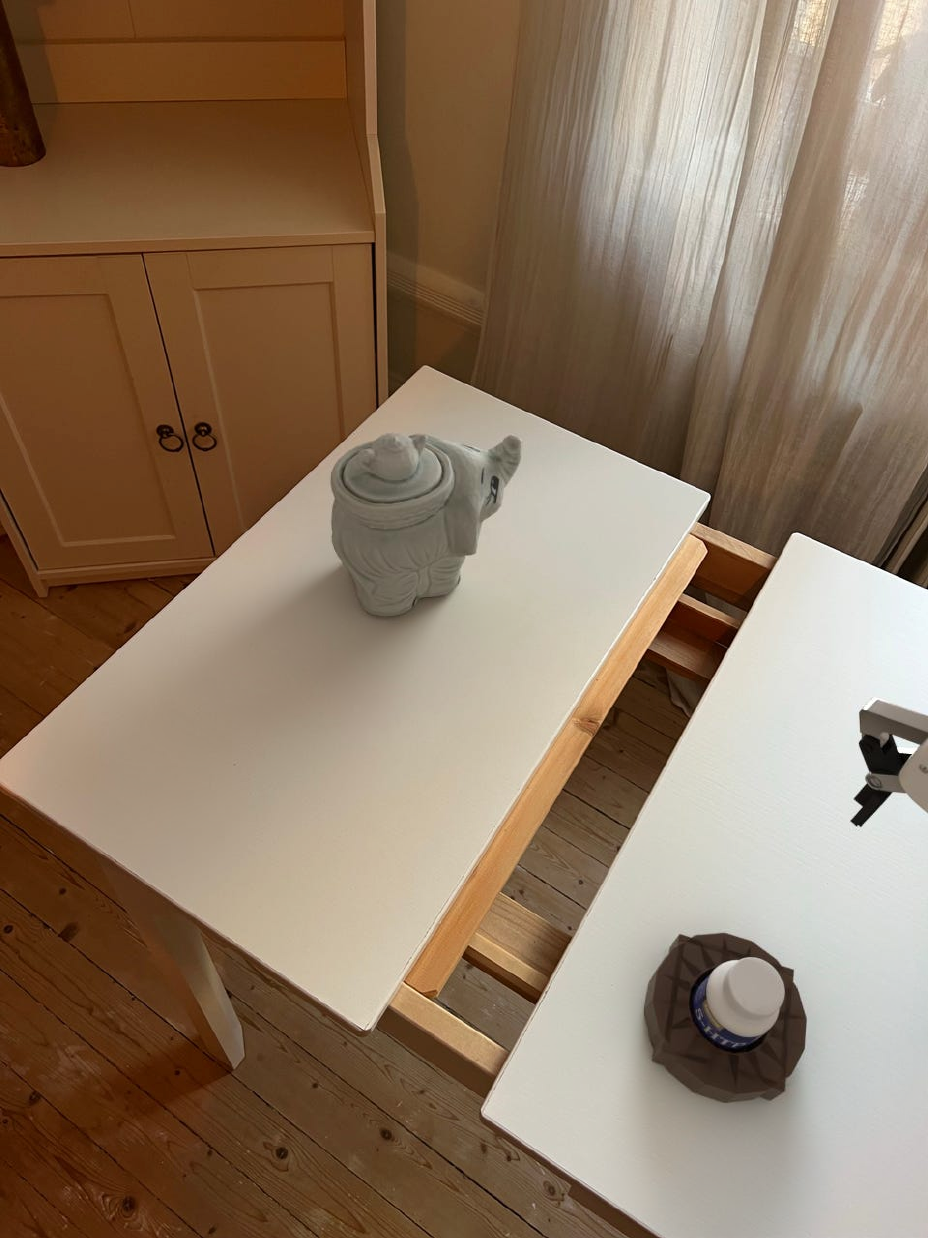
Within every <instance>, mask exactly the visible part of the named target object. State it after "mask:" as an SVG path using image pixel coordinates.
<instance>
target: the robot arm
mask: <svg viewBox="0 0 928 1238" xmlns="http://www.w3.org/2000/svg"><path fill="white" fill-rule="evenodd" d="M858 719H859V721H858V722H859V733H861V739H860V740H859V741H858V747H859V749H860V752H861V754H862V755H861V756H862V757H863V759H864V762H865V764H866V767H867V770H868V773H866V775H865V777H864V779H865V782H866V784H865V785H864V786H862V788H861V789H860V790H859V791H858V793H857V794H856V795H855V796H854V797H853V801H855V802H856V803H857V804H859V805H860V807H861V808H860V809H859V810H858V811H857V813H855V815H854V816H853V817H852V818H851V819H850V823H852V825H853V826H855V827H858V826H859V827H860V828H861V827H863V826H864V825H865V824H866V822H867V821H869V819H870V818H871V817H872V816H873V815H874V814H875V813H877V811H878V810H879V809H880V807H882V806H883V804H884V803H885V802H886V801H887V800H888V799H889V798H890V797H891V796H892V794H893V793H897V794H898V793H899V794H906V795H907V796H908V797H909V798H910V799H911V800H912V801H913V802H914V803H915V804H916V805H917V806H918V807H920V808H921V809H922V810H923V811H924V812H926V813H927V814H928V715H927V714H924V713H921V712H919V711H916V710H913V709H909V708H907V707H904V706H901V705H898V704H896V703H892V702H889V701H886V700H883V699H880V698H876V697H872V698H871V699H870V700H869V701H868V702H867V703H866V704H865V705H864V706H863V707H862V708H861V709H860V710H859V712H858ZM894 737H896V738H899V739H902V740H905V741H908V742H911V743H914V744H916V745H918V747H917V748H909V747H898V745H897V743H896V740H895V738H894Z"/></svg>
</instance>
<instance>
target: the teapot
mask: <svg viewBox="0 0 928 1238" xmlns="http://www.w3.org/2000/svg"><path fill="white" fill-rule="evenodd" d="M522 457H523V442H522V439H521V438H520V437H519V436H518V435H515V434H509V435H507V436H505V437H504V438H503V439H502V441H500V442H499V443H497V444H496V445H494V446H493V447H491V448H489V449H481V448H479V447H476V446H473V445H470V444H468V443H463V442H453V441H449V440H446V439H444V438H440V437H438V436H435V435H431V434H426V433H414V434H411V435H409V436H407V435H404V434H402V433H398V432H387V433H384V434H382V435H380V436H379V437H377V438H376V439H375V440H371V441H367V442H364V443H362V444H359V445H356V446H354V447H352V448H351V449H348V451H346V453H344V454H343V455H342V456H341V457H340V458H339V459H337V461H336V462H335V464H334V465H333V467H332V470H331V472H330V482H329V483H330V488H331V492H332V495H333V498H334V500H333V503H332V507H331V519H330V526H331V544H332V547H333V549H334V551H335V554H336V556H337V557H338V559H339V560H340V561H341V562H342V564H343V565H344V566H345V568H346V569H347V570H348V572H349V576H350V578H351V580H352V581H353V584H354V585H355V587H356V592H357V597H358V600H359V603H360V605H361V606H362V608H363V609H364V610H365V611H366V612H367V613H369V614H371V615H373V616H379V617H394V616H395V617H396V616H399V615H402V614H404V613H406V612H408V611H410V610H411V609H412V608H414V607H415V606H416V604H417V602H418V601H419V600H420V599H421V598H427V597H440V596H443V595H447V594H449V593H451V592H453V591H454V590H455V589H456V588H457V587H458V586H459V585H460V583H461V581H462V574H461V573H462V572H461V569H462V567H463V564H464V562H465V560H466V556H473V555H476V554H477V550H478V544H479V539H480V534H481V531H482V530H481V529H482V525H483V522H484V521H486V520H487V519H489V518H490V517H492V516H493V515H494V514H495V513H497V512H498V510H500V508H501V506H502V504H503V500H504V493H505V489H506V487H507V486H508V484H509V482H510V481H511V480H512V478H513V477H514V475H515V474H516V472H517V470H518V468H519V466H520V464H521V460H522Z"/></svg>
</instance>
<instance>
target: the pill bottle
mask: <svg viewBox="0 0 928 1238" xmlns="http://www.w3.org/2000/svg"><path fill="white" fill-rule="evenodd" d="M784 994H785V990H784V984H783V981H782V979H781V977H780V975H779V974H778V972H777V971H776V970H775V968H774V967H772V966H771V965H770V964H769V963H767V962H766V961H764V960H761V959H758V958H753V957H748V958H743V959H741V960H732V961H728V962H725V963H723V964H721V965H720V966H718V967H717V968H716V969H715V970H714V971H713V972H712V973H711V974H710V975H709V976H708V977H707V978H706V979H705V980H704V981H701V983H700V984H699V985H698V986H697V987H696V988H695V989H694V991H692V992H691V994H690V1001H689V1007H690V1011H691V1015H692V1020H693V1022H694V1024H695V1025H696V1027H697V1029H698V1030H699V1032H700V1033H701V1035H702V1036H703V1037H704V1038H705V1039H707V1040H708V1041H709V1042H710V1043H712V1044H713V1045H714V1046H715V1047H717V1048H719V1049H722V1050H725V1051H728V1052H731V1053H739V1052H742V1051H743V1050H745V1049H746V1048H747V1047H748V1046H750V1045H751V1044H753V1043H755V1042H756V1039H758V1038H759V1037H760V1036H762V1035H763V1034H764V1033H766V1032H767V1031H768V1030H769V1029H770V1028H771V1027H772V1026H773V1025H774V1023H775V1022H776V1020H777V1018H778V1015H779V1010H780V1007H781V1005H782V1003H783V1000H784Z"/></svg>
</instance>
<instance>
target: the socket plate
mask: <svg viewBox="0 0 928 1238" xmlns="http://www.w3.org/2000/svg"><path fill="white" fill-rule="evenodd" d="M668 949H669V950H668V953H667V954H666V956H665V957H664V958H663V960H662V961H661V963H660V964H659V966H658V967H657V969H656V970H655V971H654V973H653V975H652V976H651V977H650V979H649V981H648V983H647V988H646V994H645V1001H644V1006H643V1015H644V1020H645V1024H646V1029H647V1034H648V1038H649V1042H650V1045H651V1046H652V1048H653V1050H652V1056H651V1062H652V1063H656V1064H659V1065H662V1066H664V1068H665V1070H666V1071H667V1072H668V1073H669V1074H670V1075H671V1076H673V1078H674V1079H676V1080H677V1081H679V1082H680V1083H681V1084H682V1085H683V1086H685V1087H686V1089H689V1091H691V1092H692V1093H694V1094H696V1095H699V1096H703V1097H706V1098H708V1099H712V1100H715V1101H718V1102H721V1103H725V1104H726V1103H727V1104H728V1103H737V1102H746V1101H753V1100H756V1099H757V1098H758V1097H759V1098H762V1099H765V1100H769V1101H772V1100H774V1099H776V1098H777V1097H779V1096H781V1095H782V1094H784V1093H785V1092H786V1083H787V1079H788V1078H789V1077H790V1076H792V1074H793V1072H794V1070H795V1069H796V1067H797V1065H798V1064H799V1061H800V1060H801V1058H802V1057H803V1054H804V1052H805V1049H806V1040H807V1039H806V1036H807V1024H808V1022H807V1021H808V1019H807V1017H808V1016H807V1013H806V1011H805V1007H804V1004H803V1001H802V998H801V994H800V991H799V988H798V986H797V985H796V984H795V982H794V976H795V969H793V968H790V967H786V966H783V965H782V964H781V962H780V961H779V960H778V959H777V958H775V957H774V956H773V955H772V954H770V953H769V952H767V951H766V950H765V949H763V948H762V947H761V946H759V944H757V943H756V942H754V941H752V940H749V939H747V938H743V937H740V936H737V935H734V934H730V933H727V932H713V933H699V934H695V935H693V936H689V935H685V934H681V933H679V934H678V935H677V937H676V938H675V939H674V941H672V943H671V945H670V946H669V948H668ZM748 957H753V958H758V959H761V960H764V961H766V962H767V963H769V964H770V965H771V966H772V967H774V968H775V970H776V971H777V972H778V974H779V975H780V977H781V979H782V981H783V984H784V990H785V994H784V1000H783V1003H782V1005H781V1007H780V1010H779V1015H778V1018H777V1020H776V1022H775V1023H774V1025H773V1026H772V1027H771V1028H770V1029H769V1030H768V1031H767V1032H766V1033H764V1034H763V1035H762V1036H760V1037H759V1038H758V1039H756V1040H755V1041H754V1042H753V1044H752V1047H751V1049H750V1050H749V1051H740V1052H738V1053H731V1052H728V1051H725V1050H722V1049H719V1048H717V1047H715V1046H714V1045H713V1044H712V1043H710V1042H709V1041H708V1040H707V1039H705V1038H704V1037H703V1036H702V1035H701V1033H700V1032H699V1030H698V1029H697V1027H696V1025H695V1024H694V1022H693V1020H692V1015H691V1011H690V1007H689V1001H690V996H691V994H692V988H693V987H694V985H695V986H696V984H698V983H700V982H703V981H704V980H705V979H706V978H707V977H708V976H709V975H710V974H711V973H712V972H713V971H714V970H715V969H716V968H717V967H718V966H720V965H721V964H723V963H725V962H728V961H732V960H741V959H743V958H748Z"/></svg>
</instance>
